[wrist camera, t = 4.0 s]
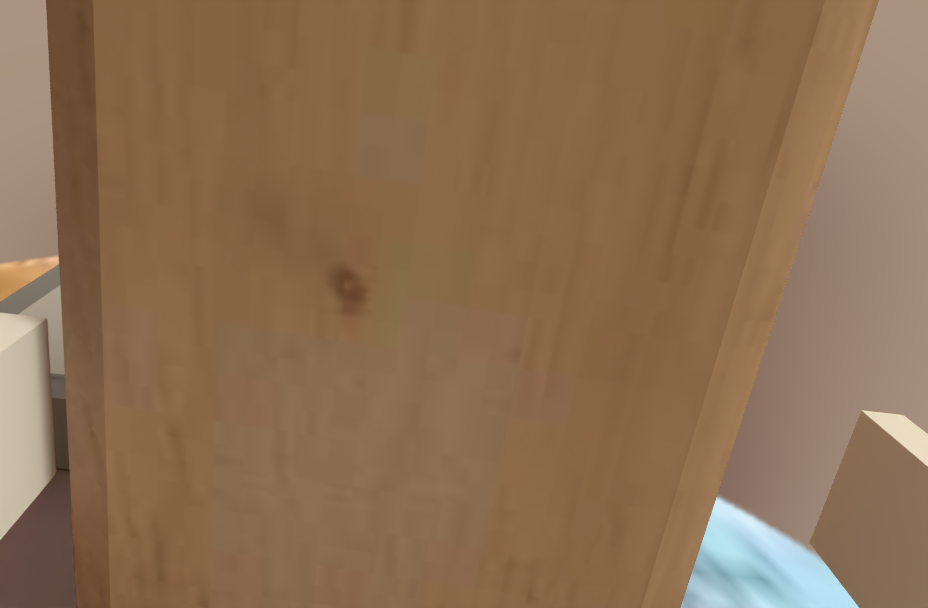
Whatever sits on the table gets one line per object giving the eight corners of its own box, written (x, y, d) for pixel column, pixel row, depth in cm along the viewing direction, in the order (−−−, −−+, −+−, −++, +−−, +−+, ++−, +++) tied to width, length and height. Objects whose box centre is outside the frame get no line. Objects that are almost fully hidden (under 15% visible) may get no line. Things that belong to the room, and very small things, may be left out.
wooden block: (68, 924, 14) (-21, -372, 7) (241, 567, 23) (276, -127, 16) (577, 994, 14) (988, -200, 7) (541, 611, 23) (702, -56, 16)
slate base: (-113, 453, 26) (-125, 376, 24) (66, 313, 39) (63, 258, 38) (278, 487, 27) (283, 416, 26) (322, 341, 40) (327, 290, 39)
